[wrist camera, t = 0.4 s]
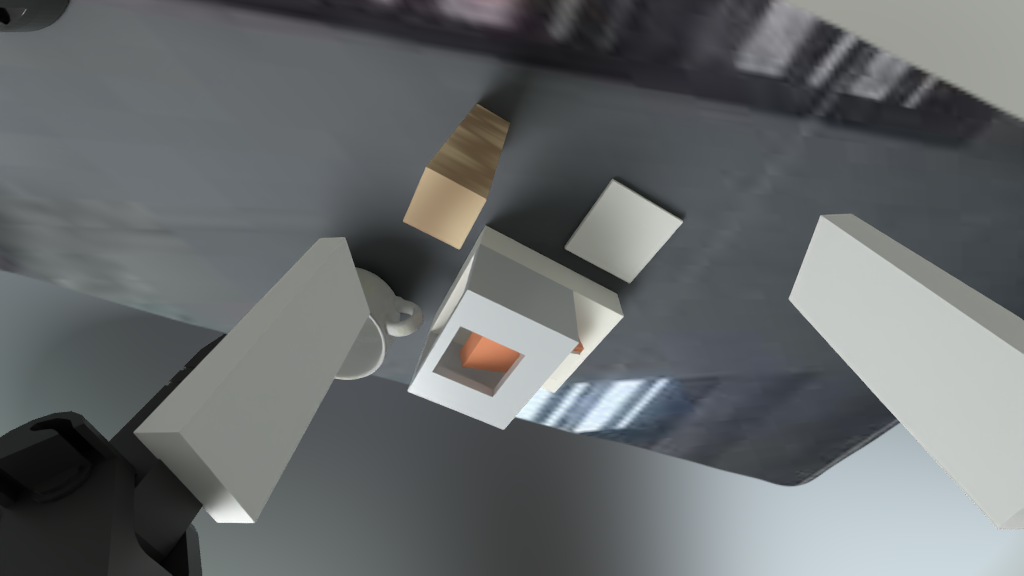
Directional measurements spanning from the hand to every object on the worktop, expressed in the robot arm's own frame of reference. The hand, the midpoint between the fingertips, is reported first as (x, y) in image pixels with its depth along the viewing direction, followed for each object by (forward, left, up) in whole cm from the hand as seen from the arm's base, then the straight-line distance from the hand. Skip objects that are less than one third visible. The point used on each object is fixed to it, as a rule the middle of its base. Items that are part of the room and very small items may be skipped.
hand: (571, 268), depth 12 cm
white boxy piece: (+8, -19, -26) cm, 33 cm away
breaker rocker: (+8, -19, -20) cm, 28 cm away
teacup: (-7, -26, -27) cm, 38 cm away
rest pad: (+12, -6, -26) cm, 30 cm away
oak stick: (-4, -4, -26) cm, 27 cm away
